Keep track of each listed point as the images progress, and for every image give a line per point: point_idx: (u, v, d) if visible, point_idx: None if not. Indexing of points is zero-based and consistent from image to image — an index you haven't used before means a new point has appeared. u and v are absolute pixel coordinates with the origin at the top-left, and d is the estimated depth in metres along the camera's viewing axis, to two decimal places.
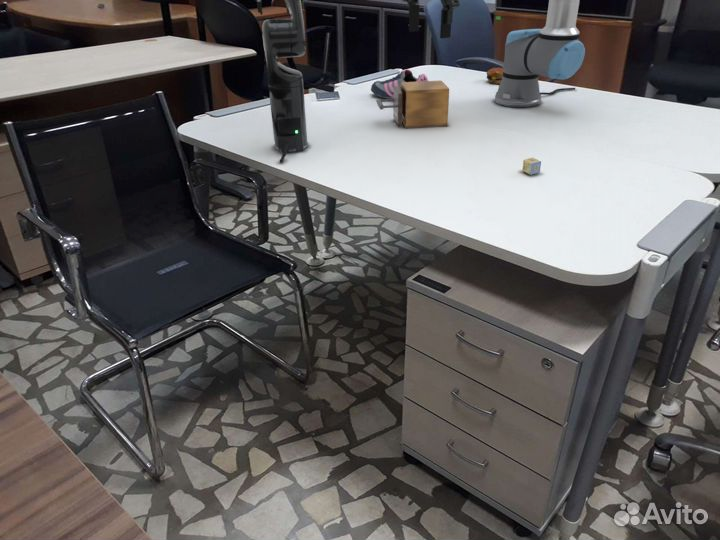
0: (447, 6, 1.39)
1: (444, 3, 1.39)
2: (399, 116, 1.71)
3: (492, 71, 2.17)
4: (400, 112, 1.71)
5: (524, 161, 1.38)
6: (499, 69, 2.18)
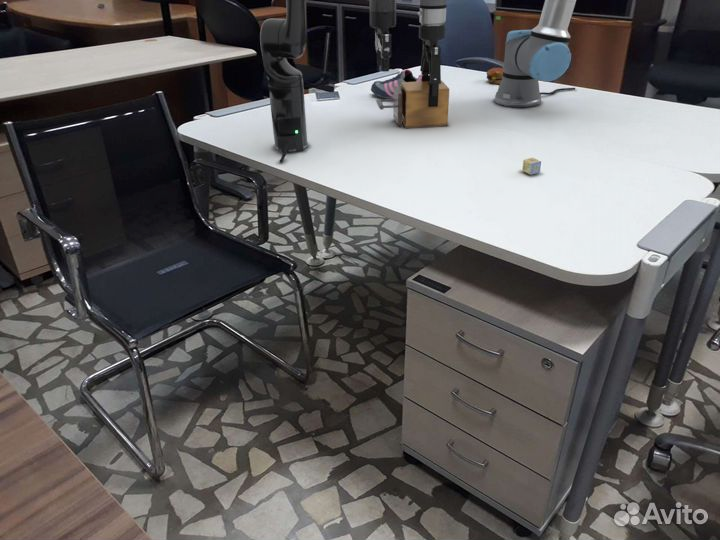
0: (431, 82, 1.65)
1: (430, 79, 1.65)
2: (399, 116, 1.71)
3: (492, 71, 2.17)
4: (400, 112, 1.71)
5: (524, 161, 1.38)
6: (499, 69, 2.18)
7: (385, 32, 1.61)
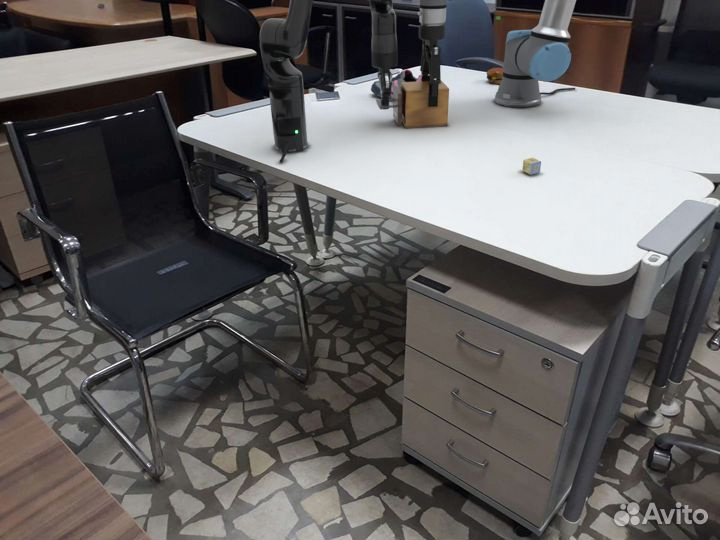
0: None
1: (430, 79, 1.65)
2: (399, 116, 1.71)
3: (492, 71, 2.17)
4: (400, 112, 1.71)
5: (524, 161, 1.38)
6: (499, 69, 2.18)
7: (386, 72, 1.65)
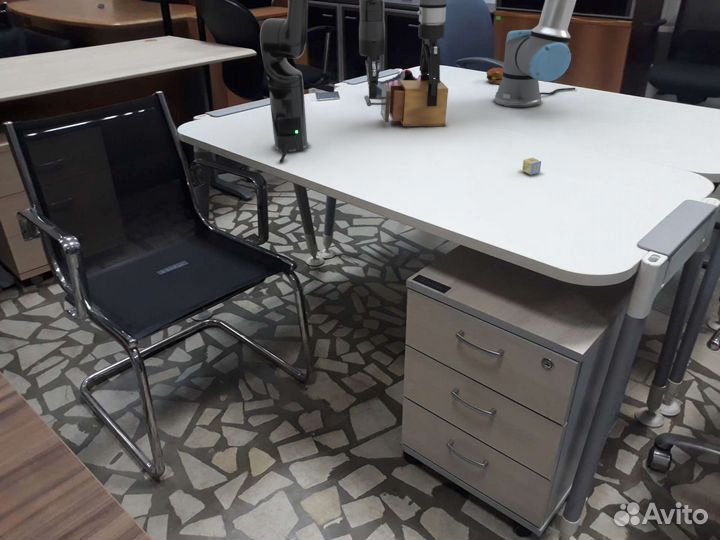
0: (430, 81, 1.64)
1: (429, 78, 1.65)
2: (386, 114, 1.70)
3: (492, 71, 2.17)
4: (387, 110, 1.70)
5: (524, 161, 1.38)
6: (499, 69, 2.18)
7: (374, 60, 1.63)
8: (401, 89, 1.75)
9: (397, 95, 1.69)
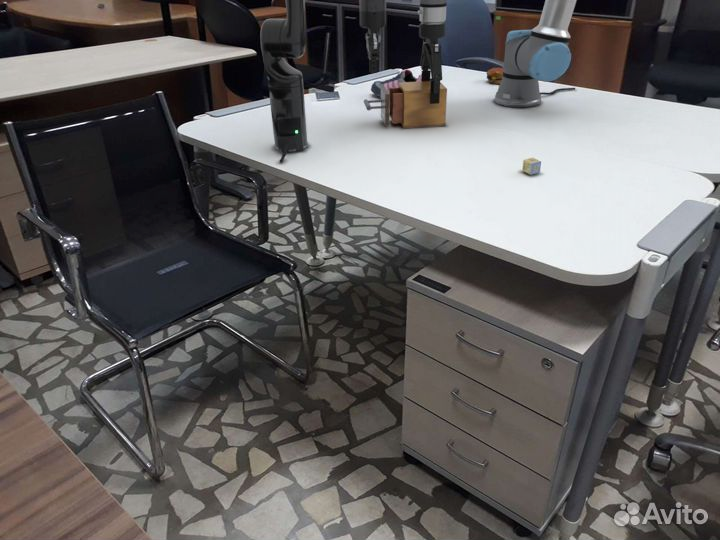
0: (433, 78, 1.63)
1: (431, 75, 1.63)
2: (386, 117, 1.71)
3: (492, 71, 2.17)
4: (387, 113, 1.70)
5: (524, 161, 1.38)
6: (499, 69, 2.18)
7: (374, 32, 1.59)
8: (400, 91, 1.75)
9: (396, 98, 1.69)
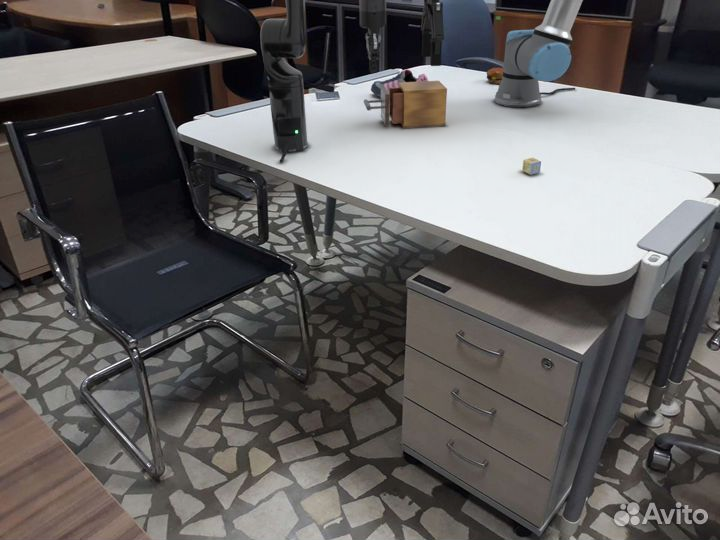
0: None
1: (433, 36, 1.58)
2: (386, 117, 1.71)
3: (492, 71, 2.17)
4: (387, 113, 1.70)
5: (524, 161, 1.38)
6: (499, 69, 2.18)
7: (374, 32, 1.59)
8: (400, 91, 1.75)
9: (396, 98, 1.69)
